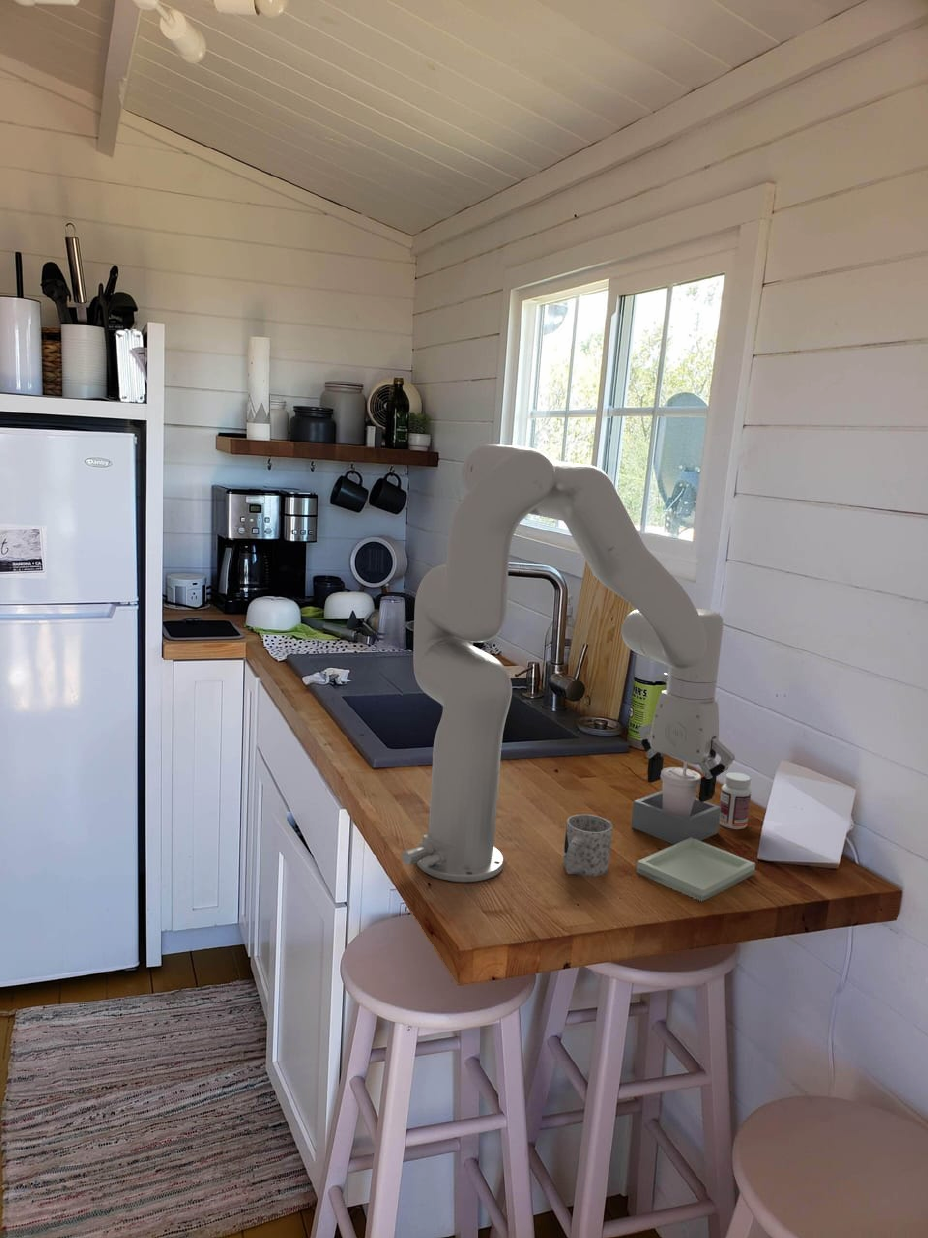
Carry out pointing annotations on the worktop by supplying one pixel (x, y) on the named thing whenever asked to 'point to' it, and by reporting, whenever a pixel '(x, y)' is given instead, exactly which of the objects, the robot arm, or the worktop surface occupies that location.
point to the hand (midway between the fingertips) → (679, 790)
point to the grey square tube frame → (675, 820)
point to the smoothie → (679, 789)
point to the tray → (695, 868)
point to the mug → (587, 845)
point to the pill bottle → (735, 801)
